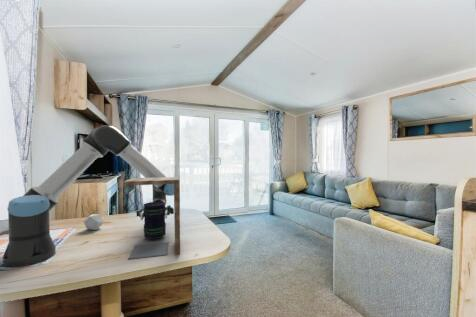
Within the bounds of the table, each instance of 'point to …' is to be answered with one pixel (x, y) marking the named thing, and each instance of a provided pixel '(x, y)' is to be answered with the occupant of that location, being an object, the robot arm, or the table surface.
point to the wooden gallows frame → (131, 183)
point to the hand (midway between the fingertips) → (153, 216)
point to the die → (93, 222)
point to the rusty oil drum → (154, 220)
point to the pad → (149, 250)
